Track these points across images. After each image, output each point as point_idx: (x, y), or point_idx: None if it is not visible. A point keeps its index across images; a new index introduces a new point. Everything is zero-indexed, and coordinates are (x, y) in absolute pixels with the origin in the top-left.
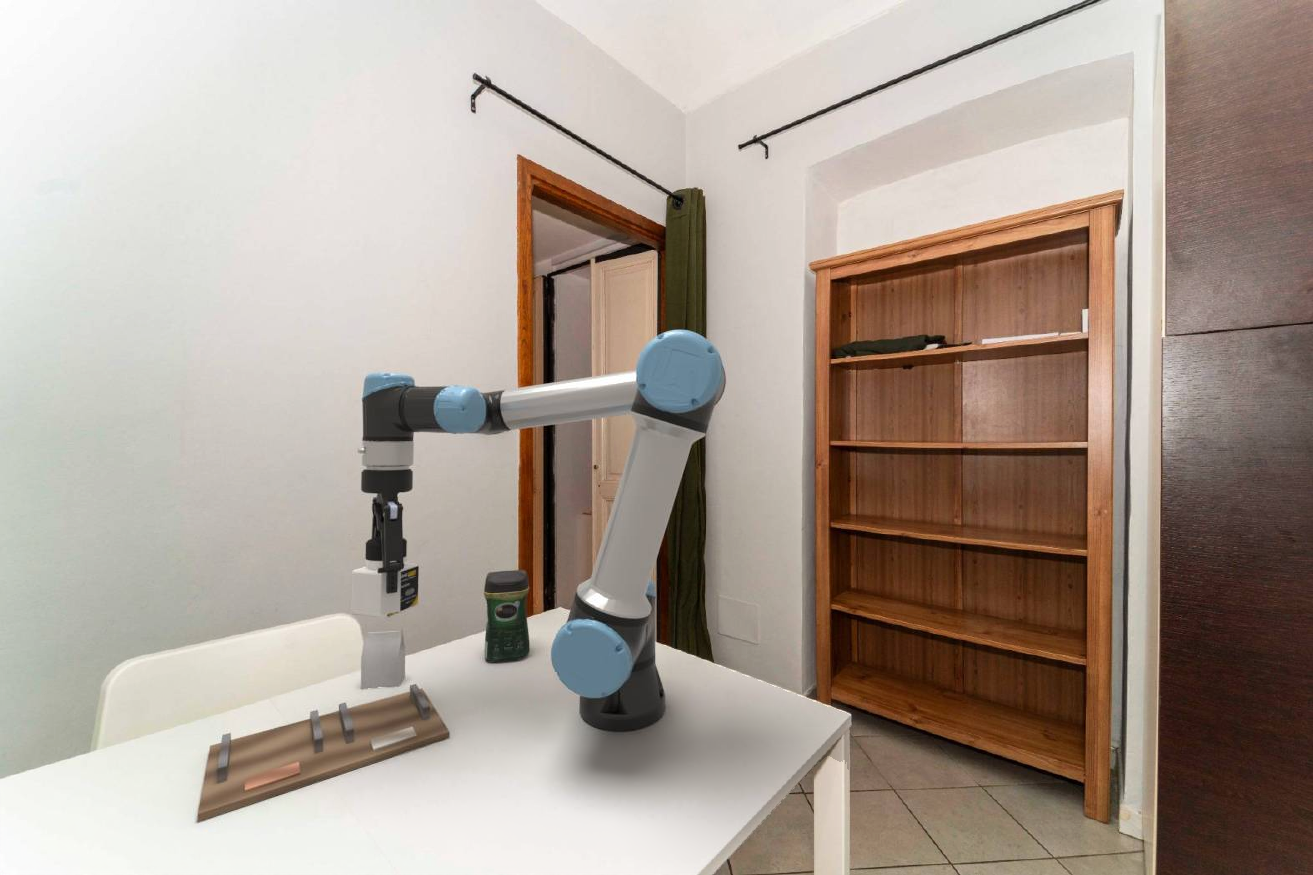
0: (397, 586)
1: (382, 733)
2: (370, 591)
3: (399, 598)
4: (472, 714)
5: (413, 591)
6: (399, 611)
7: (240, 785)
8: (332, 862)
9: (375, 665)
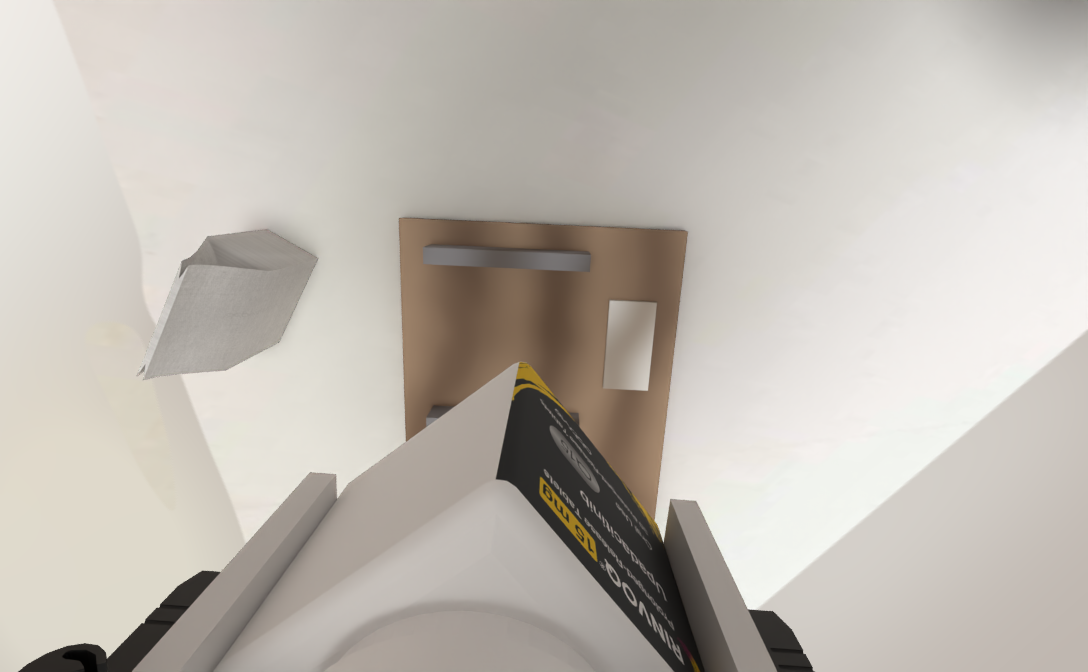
0: (798, 645)
1: (585, 359)
2: None
3: (716, 551)
4: (613, 141)
5: (552, 428)
6: (695, 504)
7: None
8: (895, 485)
9: (257, 326)
